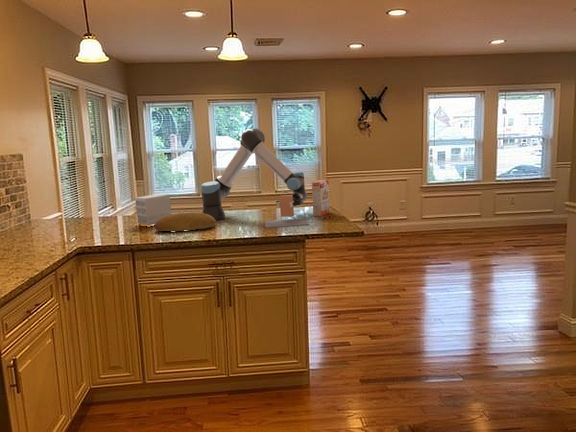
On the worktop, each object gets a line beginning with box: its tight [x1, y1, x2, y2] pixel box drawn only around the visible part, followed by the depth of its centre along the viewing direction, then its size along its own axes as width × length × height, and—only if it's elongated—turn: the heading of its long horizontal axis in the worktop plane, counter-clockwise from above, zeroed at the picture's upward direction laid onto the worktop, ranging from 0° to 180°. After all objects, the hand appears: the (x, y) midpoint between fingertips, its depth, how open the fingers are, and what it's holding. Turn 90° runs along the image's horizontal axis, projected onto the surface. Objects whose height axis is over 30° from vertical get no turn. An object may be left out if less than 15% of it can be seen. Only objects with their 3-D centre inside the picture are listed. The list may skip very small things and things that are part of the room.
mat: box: [264, 217, 310, 229], centre depth 270 cm, size 24×19×1 cm
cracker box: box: [311, 179, 331, 217], centre depth 290 cm, size 14×6×21 cm, turn 154°
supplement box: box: [134, 193, 173, 225], centre depth 295 cm, size 17×13×18 cm
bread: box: [154, 211, 217, 232], centre depth 273 cm, size 18×35×10 cm, turn 93°
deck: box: [278, 194, 295, 218], centre depth 275 cm, size 4×7×12 cm, turn 73°
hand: (284, 205), depth 270 cm, fingers closed on deck, 7 cm apart
